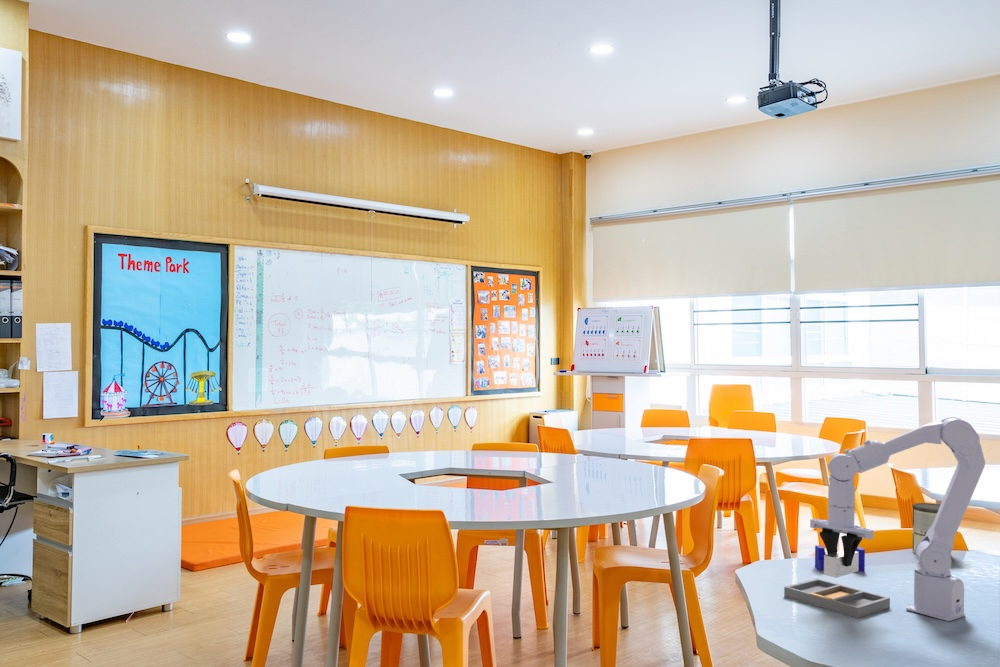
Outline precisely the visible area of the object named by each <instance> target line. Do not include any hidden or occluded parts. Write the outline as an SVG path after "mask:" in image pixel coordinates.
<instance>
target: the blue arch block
mask: <svg viewBox="0 0 1000 667" xmlns="http://www.w3.org/2000/svg"><path fill="white" fill-rule="evenodd" d="M825 551H826V547H825V546H824V547H823V546H822V545H818V544H816V545H814V567H815V568H816V569H817V570H819V572H824V555H827V553H826V552H825ZM856 552H859V562H858V571H857V572H858V573H859V572H863V573H864V572H865V571H866V570H865V565H866V564H865V563H866V562H865V561H866V555H865V554H866V550H865V548H863V547H861V546H858V547H857V549H856Z"/></svg>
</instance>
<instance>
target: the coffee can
mask: <svg viewBox="0 0 1000 667" xmlns="http://www.w3.org/2000/svg"><path fill="white" fill-rule="evenodd" d="M940 505H941V504H939V503H938V504H937V503H932V502H931V503H930V502H917V503H913V504H912V550H911V552H912V553H913V554H915V547H916V545H917V543H918V542H919V541H921V540H922V539H923V538H924V537H925V535H926V533H927V531H928V530H929V529H930V527H931V526H932V524H933V522H934V519H935V517H936V514H937V512H938V510H939V507H940Z"/></svg>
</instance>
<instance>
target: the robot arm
mask: <svg viewBox="0 0 1000 667" xmlns="http://www.w3.org/2000/svg"><path fill="white" fill-rule="evenodd" d="M942 442H943V443H944V444H945V445H946V446H947V447H948V449H950V451H951V452H952V455H953V456H954V458H955V460H956V462H957V465H956V467H955V469H954V472H953V475H952V477H951V479H950V482H949V484H948V487H947V488H946V492H945V493H944V496H943V498H942V501H941V502H940V504H939V505H940V507H939V510H938V512H937V514H936V517H935V519H934V522H933V524H932V526H931V527H930V529H929V530H928V531H927V533H926V535H925V537H924V538H923V539H922V540H921V541H919V542H918V543H917V545H916V547H915V553H914V555H915V557H916V558H917V560H918V564H917V565H916V566H914V567H913V568H914V569H913V570H914V573H913V574H914V582H913V583H914V584H913V585H914V586H913V589H914V591H913V592H914V593H913V596H914V597H913V605H909V606H907V607H905V609H906V610H907V611H910V612H913V613H917V614H920V615H925V616H928V617H932V618H935V619H938V620H943V621H947V622H950V621H954V620H957V619H959V618H962V617H964V616H966V612H965V586H964V582H963V580H962V579H960V578H957V577H954V576H953V575H952V572H951V570H950V569H951V567H952V551H953V549H954V543H955V542H954V541H955V537H956V534H957V532H958V530H959V527H960V526H961V522H962V520H963V518H964V516H965V513H966V511H967V508H968V506H969V504H970V502H971V499H972V497H973V494H974V492H975V489H976V487H977V486H978V483H979V481H980V478H981V475H982V473H983V471H984V469H985V465H986V460H985V457H984V452H983V448H982V446H981V440H980V435H979V434H978V432H977V431H976V430H975V429H974V427H973V426H972V425H971V424H970V423H969V422H968V421H966V420H964V419H960V418H958V417H953V416H949V417H946V418H944V419H943V418H942V420H935V421H932V422H929V423H926V424H922V425H920V426H918V427H916V428H914V429H911V430H909V431H907V432H904V433H902V434H901V435H898V436H895V437H893V438H891V439H889V440H886V441H884V442H882V441H881V440H880V441H879V440H876V439H874V440H870V439H867V440H864V441H863V443H864V444H861V445H859V446H856V447H854V448H852V449H850V450H849V448H846V449H844V450H843V451H844V453H837V454H835V455H833V456H831V458H829V461H828V463H827V467H828V471H829V473H830V474H829V477H828V481H829V484H828V491H827V495H828V498H827V500H828V501H827V505H828V506H827V519H819V518H810V520H809V521H810V522H809V524H810V527H809V528H811V529H820V530H821V531H819V536H820V538H821V540H822V542H823V545H824V548H825V551H826V554H831V553H835V552H838V546H839V545H838V544H839V539H840V538H841V542H842V546H843V547H842V548H843V549H842V550H844V566H846V567H847V566H851V564H852V560H853V556H854V554H855V551H856V549H857V547H859V545H860V543H861V542H862V540H863V539H866V540H873V539H874V529H869V528H867V527H863V526H859V525H856V524H855V513H856V512H855V508H856V507H855V504H856V503H855V501H856V498H855V497H856V496H855V495H856V488H855V486H854V482H855V481H854V480H855V476H856V474H857V473H860V474H862V473H865V472H867V471H870V470H872V469H875V468H878V467H881V466H883V465H886V464H887V463H888V462H889V459H890V457H891V456H893V455H894V454H897V453H900V452H902V451H903V452H904V451H906V450H908V449H912V448H915V447H917V446H920V445H923V444H926V443H927V444H934V445H942ZM840 534H843V535H842V536H841V537H840ZM844 534H845V535H844Z"/></svg>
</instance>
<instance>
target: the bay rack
mask: <svg viewBox="0 0 1000 667" xmlns="http://www.w3.org/2000/svg"><path fill="white" fill-rule="evenodd" d="M783 590H784V591H783V593H784V594H783V595H784V597H785V598H788V599H791V600H796V601H799V602H803V603H805V602H806V603H807V604H810V605H812V606H816V607H819V608H822V607H823V609H825V608H826V610H829V611H833V612H835V613H839V614H843V615H846V616H848V617H849V616H850V617H853V618H856V619H859V618H862V617H865V616H868V615H871V614H875V613H878V612H881V611H883V610H887V609H890V607H891V604H890V603H891V598H890V597H887V596H884V595H880V594H877V593H873V592H869V591H866V590H861V589H857V588H854V587H851V586H846V585H843V584H838V583H835V582H832V581H829V580H824V579H819V578H814V579H811V580H810V579H809V580H805V581H802V582H798V583H794V584H791V585H787V586H784V589H783ZM806 603H805V604H806Z"/></svg>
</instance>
